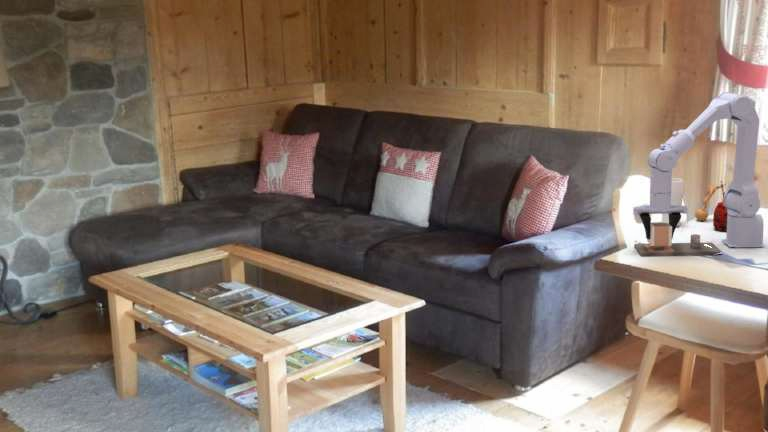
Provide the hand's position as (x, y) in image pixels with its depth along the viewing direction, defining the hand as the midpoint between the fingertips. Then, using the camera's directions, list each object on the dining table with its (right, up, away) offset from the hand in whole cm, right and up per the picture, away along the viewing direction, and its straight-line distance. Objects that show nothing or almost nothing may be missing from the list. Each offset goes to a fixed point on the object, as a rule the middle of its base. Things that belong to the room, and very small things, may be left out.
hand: (659, 238), depth 243 cm
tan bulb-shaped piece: (+26, +5, +33) cm, 42 cm away
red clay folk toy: (+27, +2, +22) cm, 35 cm away
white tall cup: (+13, +3, +29) cm, 32 cm away
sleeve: (0, -1, 0) cm, 1 cm away
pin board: (+5, -4, 0) cm, 6 cm away
